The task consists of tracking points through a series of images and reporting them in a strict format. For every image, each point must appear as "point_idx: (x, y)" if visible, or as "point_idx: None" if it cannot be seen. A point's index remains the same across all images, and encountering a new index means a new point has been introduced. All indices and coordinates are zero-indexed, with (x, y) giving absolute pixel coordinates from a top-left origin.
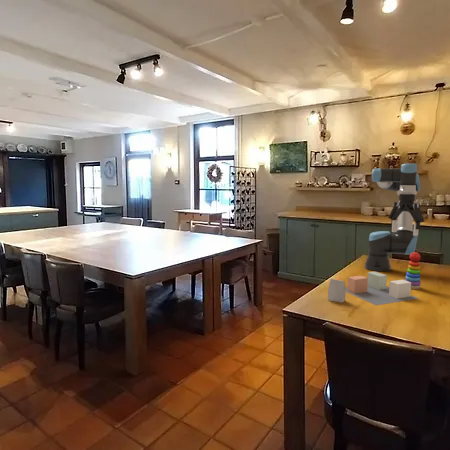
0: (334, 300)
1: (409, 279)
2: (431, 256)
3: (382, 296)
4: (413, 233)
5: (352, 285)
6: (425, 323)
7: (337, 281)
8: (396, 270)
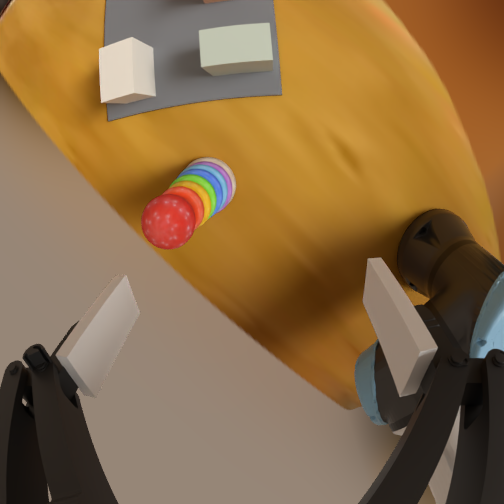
0: None
1: (190, 166)
2: None
3: (150, 24)
4: (115, 285)
5: None
6: (21, 53)
7: None
8: None
